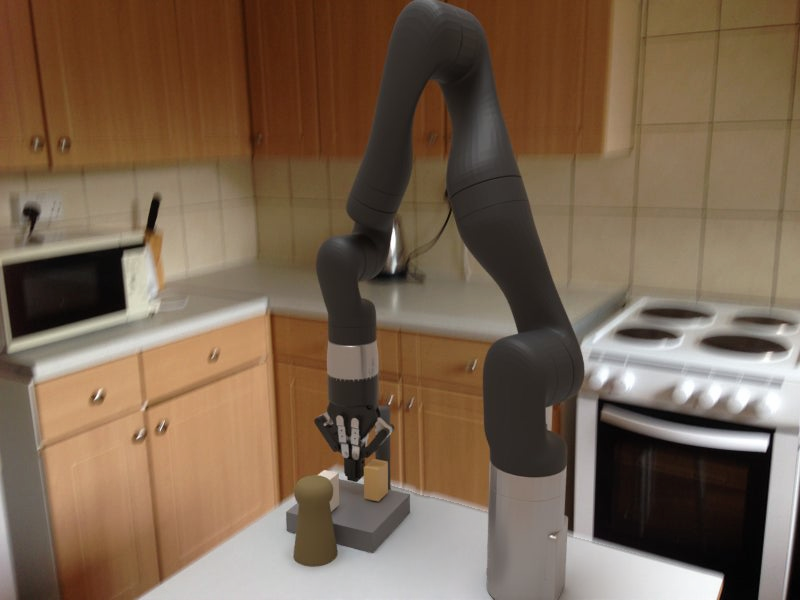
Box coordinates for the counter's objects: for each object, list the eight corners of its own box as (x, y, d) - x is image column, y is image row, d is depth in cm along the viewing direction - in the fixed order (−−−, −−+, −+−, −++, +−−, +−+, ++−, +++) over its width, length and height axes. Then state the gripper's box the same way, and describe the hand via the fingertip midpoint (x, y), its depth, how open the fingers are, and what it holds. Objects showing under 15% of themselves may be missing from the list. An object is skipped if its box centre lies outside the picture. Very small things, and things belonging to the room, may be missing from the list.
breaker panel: (409, 512, 111) (409, 494, 111) (372, 552, 100) (372, 532, 100) (330, 494, 117) (329, 477, 116) (286, 530, 106) (285, 511, 105)
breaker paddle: (387, 492, 111) (387, 461, 110) (378, 501, 108) (378, 469, 107) (373, 489, 112) (373, 458, 111) (364, 498, 109) (363, 466, 108)
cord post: (393, 488, 119) (392, 406, 116) (386, 494, 117) (386, 411, 114) (379, 485, 120) (379, 404, 117) (373, 491, 118) (372, 409, 115)
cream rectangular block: (339, 504, 107) (338, 472, 106) (328, 514, 104) (327, 481, 103) (325, 501, 108) (324, 469, 107) (313, 511, 105) (312, 478, 104)
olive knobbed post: (341, 543, 103) (339, 470, 100) (333, 567, 97) (331, 490, 94) (299, 541, 103) (296, 468, 101) (288, 565, 97) (285, 488, 95)
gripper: (404, 368, 108) (404, 477, 111) (326, 357, 113) (329, 462, 117) (382, 382, 101) (383, 498, 105) (300, 371, 106) (304, 481, 110)
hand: (354, 479), depth 111 cm, fingers closed
